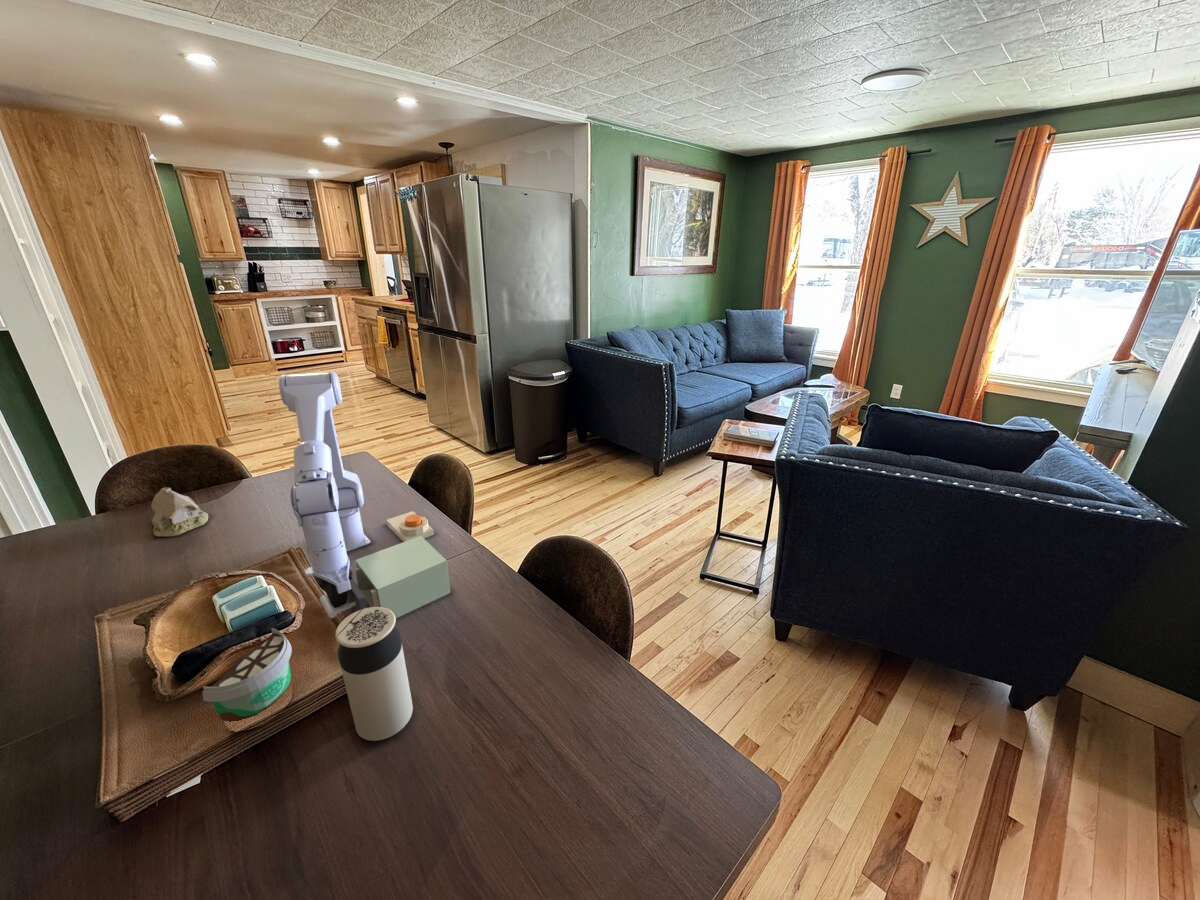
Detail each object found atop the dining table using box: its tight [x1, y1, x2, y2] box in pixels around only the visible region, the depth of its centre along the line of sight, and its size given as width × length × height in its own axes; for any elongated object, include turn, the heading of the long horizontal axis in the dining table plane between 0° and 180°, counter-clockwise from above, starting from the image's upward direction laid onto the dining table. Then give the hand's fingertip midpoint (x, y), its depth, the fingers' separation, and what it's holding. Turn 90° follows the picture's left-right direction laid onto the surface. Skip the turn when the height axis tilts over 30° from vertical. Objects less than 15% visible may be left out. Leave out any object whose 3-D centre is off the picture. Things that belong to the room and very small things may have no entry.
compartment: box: [318, 567, 380, 619], centre depth 92 cm, size 17×11×6 cm, turn 133°
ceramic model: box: [150, 486, 209, 537], centre depth 118 cm, size 14×11×10 cm
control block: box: [386, 510, 435, 543], centre depth 119 cm, size 12×7×4 cm, turn 43°
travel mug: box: [335, 607, 414, 742], centre depth 68 cm, size 8×8×18 cm
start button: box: [405, 513, 422, 527], centre depth 116 cm, size 4×4×2 cm
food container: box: [202, 628, 293, 722], centre depth 71 cm, size 12×6×10 cm, turn 168°
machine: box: [355, 536, 451, 619], centre depth 96 cm, size 14×12×8 cm
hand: (339, 604), depth 89 cm, fingers closed, pressing on compartment
